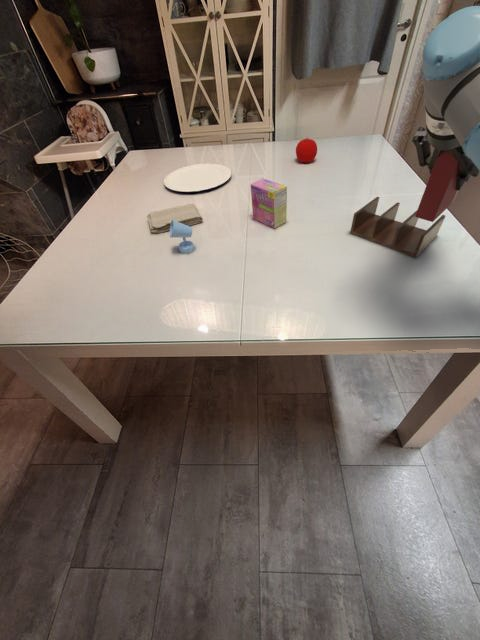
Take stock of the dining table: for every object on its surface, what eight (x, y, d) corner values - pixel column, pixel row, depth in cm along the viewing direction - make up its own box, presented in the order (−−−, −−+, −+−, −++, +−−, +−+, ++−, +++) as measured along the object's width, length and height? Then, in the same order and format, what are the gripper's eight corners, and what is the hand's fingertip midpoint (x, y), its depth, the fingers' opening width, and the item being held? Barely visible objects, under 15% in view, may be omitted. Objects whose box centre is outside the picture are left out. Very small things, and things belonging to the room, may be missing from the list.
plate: (236, 165, 135) (236, 161, 134) (225, 194, 116) (224, 190, 114) (175, 167, 140) (174, 164, 139) (154, 195, 120) (153, 191, 119)
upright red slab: (452, 203, 72) (484, 132, 61) (432, 222, 67) (464, 148, 56) (434, 198, 74) (462, 129, 63) (414, 216, 69) (441, 145, 58)
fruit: (291, 163, 132) (292, 137, 125) (302, 156, 136) (303, 131, 129) (309, 166, 127) (311, 140, 120) (320, 159, 132) (322, 134, 124)
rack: (436, 236, 85) (445, 215, 80) (415, 257, 79) (424, 236, 75) (372, 216, 96) (377, 196, 91) (349, 233, 90) (354, 213, 85)
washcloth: (147, 219, 107) (145, 211, 105) (195, 208, 110) (194, 200, 108) (152, 235, 99) (149, 227, 97) (203, 222, 102) (202, 214, 100)
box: (252, 218, 101) (250, 183, 92) (264, 212, 103) (263, 177, 95) (274, 229, 95) (274, 192, 87) (286, 222, 98) (287, 186, 89)
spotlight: (175, 256, 89) (197, 251, 90) (166, 226, 82) (190, 221, 83) (173, 247, 93) (195, 243, 94) (165, 218, 86) (188, 213, 86)
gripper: (390, 130, 54) (403, 188, 73) (499, 146, 45) (481, 208, 64) (413, 88, 52) (420, 158, 72) (531, 95, 43) (503, 174, 63)
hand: (449, 182), depth 68 cm, fingers closed on upright red slab, 4 cm apart
